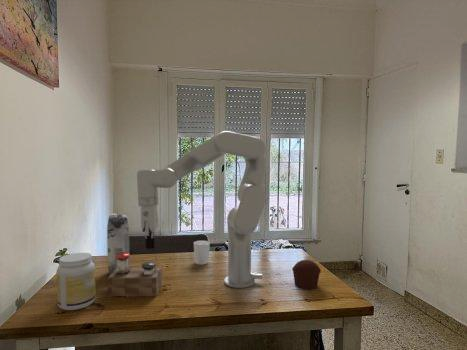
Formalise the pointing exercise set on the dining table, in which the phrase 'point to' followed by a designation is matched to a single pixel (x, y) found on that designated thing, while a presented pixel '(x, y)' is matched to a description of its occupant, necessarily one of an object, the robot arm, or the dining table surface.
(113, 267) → the juice carton
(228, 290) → the dining table surface
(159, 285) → the wooden slotted frame
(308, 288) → the muffin
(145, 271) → the grey capped peg
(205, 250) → the white cup
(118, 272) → the red plug
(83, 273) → the supplement tub
